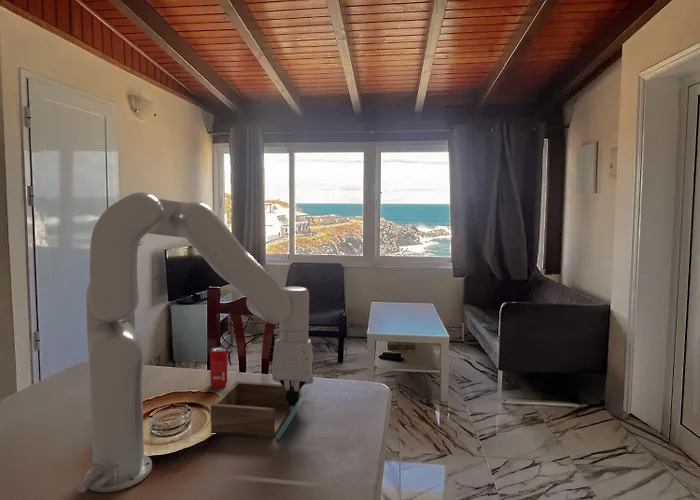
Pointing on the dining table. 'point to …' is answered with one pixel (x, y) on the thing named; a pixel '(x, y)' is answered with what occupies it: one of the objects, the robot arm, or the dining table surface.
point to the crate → (250, 410)
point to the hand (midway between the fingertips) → (292, 403)
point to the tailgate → (292, 414)
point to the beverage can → (218, 367)
